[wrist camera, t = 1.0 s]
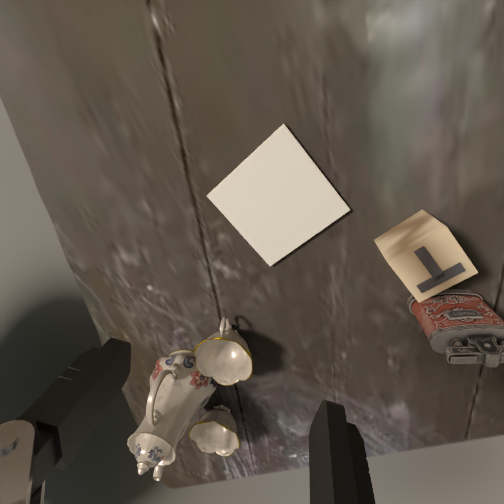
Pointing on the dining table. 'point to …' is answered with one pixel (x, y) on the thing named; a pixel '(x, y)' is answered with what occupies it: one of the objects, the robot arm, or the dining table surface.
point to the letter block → (425, 255)
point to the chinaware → (191, 400)
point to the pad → (278, 197)
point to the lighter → (461, 327)
